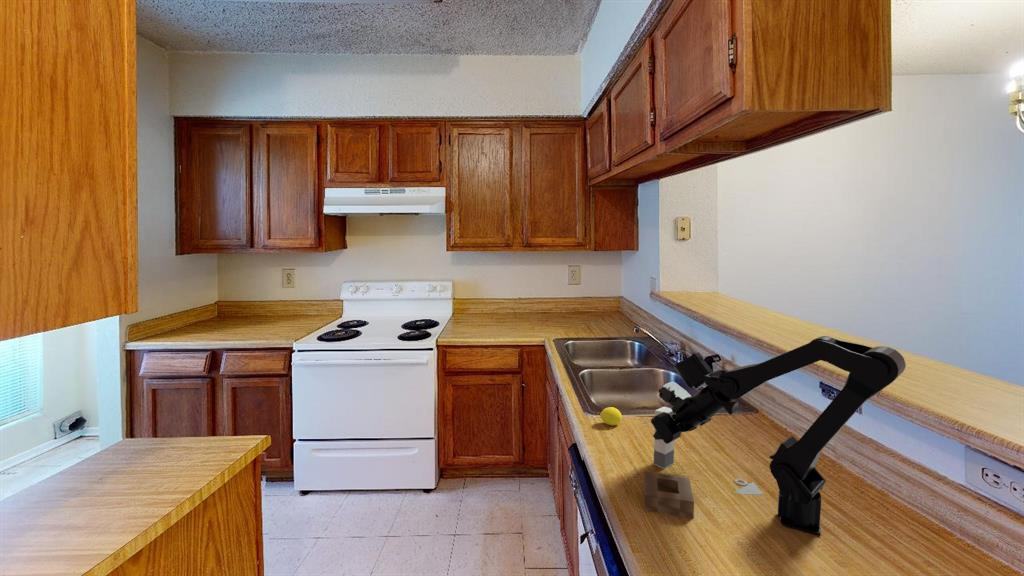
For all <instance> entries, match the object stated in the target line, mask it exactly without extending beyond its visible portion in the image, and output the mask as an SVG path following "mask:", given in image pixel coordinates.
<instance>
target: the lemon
mask: <svg viewBox="0 0 1024 576" xmlns="http://www.w3.org/2000/svg"><path fill="white" fill-rule="evenodd" d="M599 417H600V418H601V420H602V422H603V423H605V425H608V426H612V427H613V426H616V425H618V424H620V423H621V421H622V420H623V416H622V413H621V411H620V410H619V409H618V408H616V407H611V406H609V407H606V408H603V410H602V411H601V413H600V414H599Z"/></svg>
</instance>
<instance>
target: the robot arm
mask: <svg viewBox="0 0 1024 576" xmlns="http://www.w3.org/2000/svg"><path fill="white" fill-rule="evenodd" d="M819 361H822V362H825V363H828V364H830V365H833V366H834V367H836V368H839V369H840V370H843V371H844V372H845V371H846V372H848V373H849V374H848V376H847V379H846V380H845V384H844V385H843V387H842V389H840V391H839V393H837V395H836V396H835V398H833V399H832V401H831V402H830V403H829V404H828V405H827V407H826V408H824V410H823V411H822V412H821V414H820V415H819V416H818V417H817V418H816V420H815V421H814V422H813V423H812V424H811V425H810V426H809V428H808V429H807V430H806V431H805V432H804V434H803V435H802V436H801V437H800V438H799V439H797V438H796V437H794V435H793V434H792V435H790V436H789V437H787V438H786V439H785V440H784V441H782V442H781V443H780V445H778V446H779V447H778V448H777V450H776V451H775V452H774V453H772V454H771V455H770V456H769V459H771V461H770V462H769V465H768V466H769V470H770V474H771V475H772V477H773V479H775V481H776V484H777V487H778V490H779V491H778V499H777V516H778V517H779V518H780V522H779V523H780V524H781V525H782V526H785V527H787V528H793V529H796V530H799V531H804V532H807V533H811V534H814V535H817V536H819V535H822V530H821V525H820V524H821V513H822V495H821V492H820V490H822V489H823V488H824V486H825V485H826V483H827V480H826V478H824V476H823V475H822V474H821V473H820V472H819V471H818V470H817V468H816V467H815V466H816V465H817V463H818V461H819V459H820V456H821V454H822V451H823V449H824V448H825V447H826V446H827V445H828V444H829V443H830V442H831V440H832V439H833V438H834V437H835V436H836V435H837V434H838V433H839V432H840V430H841V429H842V428H843V427H844V426H845V425H846V423H847V422H848V421H849V420H850V419H851V418H852V417H853V416H854V415H855V414H856V413H857V411H858V410H859V409H861V407H862V406H863V405H864V404H865V403H866V401H867V400H869V399H871V398H872V397H873V396H875V395H877V394H878V393H879V392H881V391H882V390H884V389H885V388H886V387H888V386H889V385H890V384H893V382H894V381H896V379H898V377H899V376H901V375H902V374H903V372H904V371H905V369H906V366H907V363H906V361H905V357H904V356H903V355H902V354H901V353H900V352H899V351H898V350H896V349H895V348H892V347H889V346H881V345H880V346H874V347H872V346H868V345H864V344H861V343H858V342H852V341H845V340H841V339H837V338H834V337H831V336H828V335H822V336H819V337H816V338H814V339H812V340H811V341H810V342H808V343H806V344H803V345H801V346H798V347H796V348H794V349H791V350H789V351H786V352H784V353H781V354H779V355H776V356H775V357H772V358H769V359H767V360H765V361H762V362H758V363H753V364H747V365H743V366H742V365H741V366H738V367H735V368H732V369H730V370H726V369H717V370H713V369H712V368H711V367H710V365H708V363H707V362H706V361H705V358H704V356H703V355H701V353H700V352H695V353H693V354H691V355H690V356H688V357H686V358H685V359H683V360H680V361H679V362H677V363H676V364H675V365H673V368H674V369H675V371H676V372H677V374H678V375H679V376H680V378H681V380H682V381H683V382H684V383H685V385H686V386H687V387H688V388H689V389H693V388H694V389H695V390H698V389H700V388H702V387H703V386H705V387H704V388H702V389H700V390H699V391H698V392H697V393H694V394H692V395H691V394H690V393H689V392H688V391H687V390H686V389H684V388H683V387H682V386H680V385H679V384H678V383H677V382H675V381H669V382H666V383H664V384H663V386H661V388H659V389H658V393H659V394H658V396H659V398H660V399H661V400H662V401H663V402H665V403H666V404H669V405H671V406H672V407H670V408H671V409H672V411H673V412H674V413H675V414H674V415H672V416H670V414H669V413H665V412H663V413H661V414H659V415H656V416H655V415H654V417H652V418H651V419H650V423H651V424H652V426H653V428H654V430H655V429H656V430H657V431H656V432H655V431H654V434H653V435H652V437H653V438H654V440H655V439H656V440H660V439H663V441H664V442H665V443H667V444H668V443H670V442H672V441H674V442H675V440H677V439H679V438H681V435H682V433H687V432H691V431H695V430H696V429H697V428H698V426H700V427H702V426H704V425H705V424H708V423H709V422H711V421H712V418H713V417H714V416H715V415H716V414H718V413H719V412H721V411H722V410H725V411H726V412H727V413H728V414H729V415H730V416H731V415H733V414H736V412H738V411H739V409H740V408H739V400H738V399H740V398H742V397H744V396H745V395H747V394H749V393H751V392H753V391H755V390H756V389H758V388H759V387H760V386H763V384H765V383H766V382H768V381H770V380H773V379H775V378H779V377H781V376H784V375H786V374H788V373H789V374H790V373H792V372H794V371H797V370H799V369H801V368H804V367H806V366H809V365H813V364H815V363H817V362H819ZM674 419H675V420H674Z"/></svg>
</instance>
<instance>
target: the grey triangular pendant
mask: <svg viewBox="0 0 1024 576" xmlns="http://www.w3.org/2000/svg"><path fill="white" fill-rule="evenodd" d="M733 482H734V483H735V484H736V485H737V486H741V488H739V489H736V490H735V491H734V493H735V494H740V495H755V496H756V495H757V496H762V495H763V492H762V490H760V488H759V487H758V486H757V485H756V483H755V482H751V483H749V484H748V482H747V481H746V480H744V479H742V478H734V480H733ZM740 482H742V483H740Z"/></svg>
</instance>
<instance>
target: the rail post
mask: <svg viewBox="0 0 1024 576" xmlns="http://www.w3.org/2000/svg"><path fill="white" fill-rule="evenodd" d="M671 408H672V407H667V406H662V407H660V408H657V409H655V410H654V411H655V413H654V417H655V416H656V415H659V414H661V413H663V412H665V413H669V414H670V416H672V415H674V414H676V413H674V412H673V411H672V409H671ZM674 420H675V419H674ZM656 431H657V430H656V429H655V428H654V433H655V432H656ZM653 445H654V446H653V447H654V449H653V465H654V466H657V467H658V468H661V469H663V470H665V469H667V468H669V467H670V466H673V465H674V459H675V458H674V457H675V440H674V441H672V442H670V443H668V444H667V443H665V442H664V441H663V439H660V440H656V439H655V438H654V444H653Z"/></svg>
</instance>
